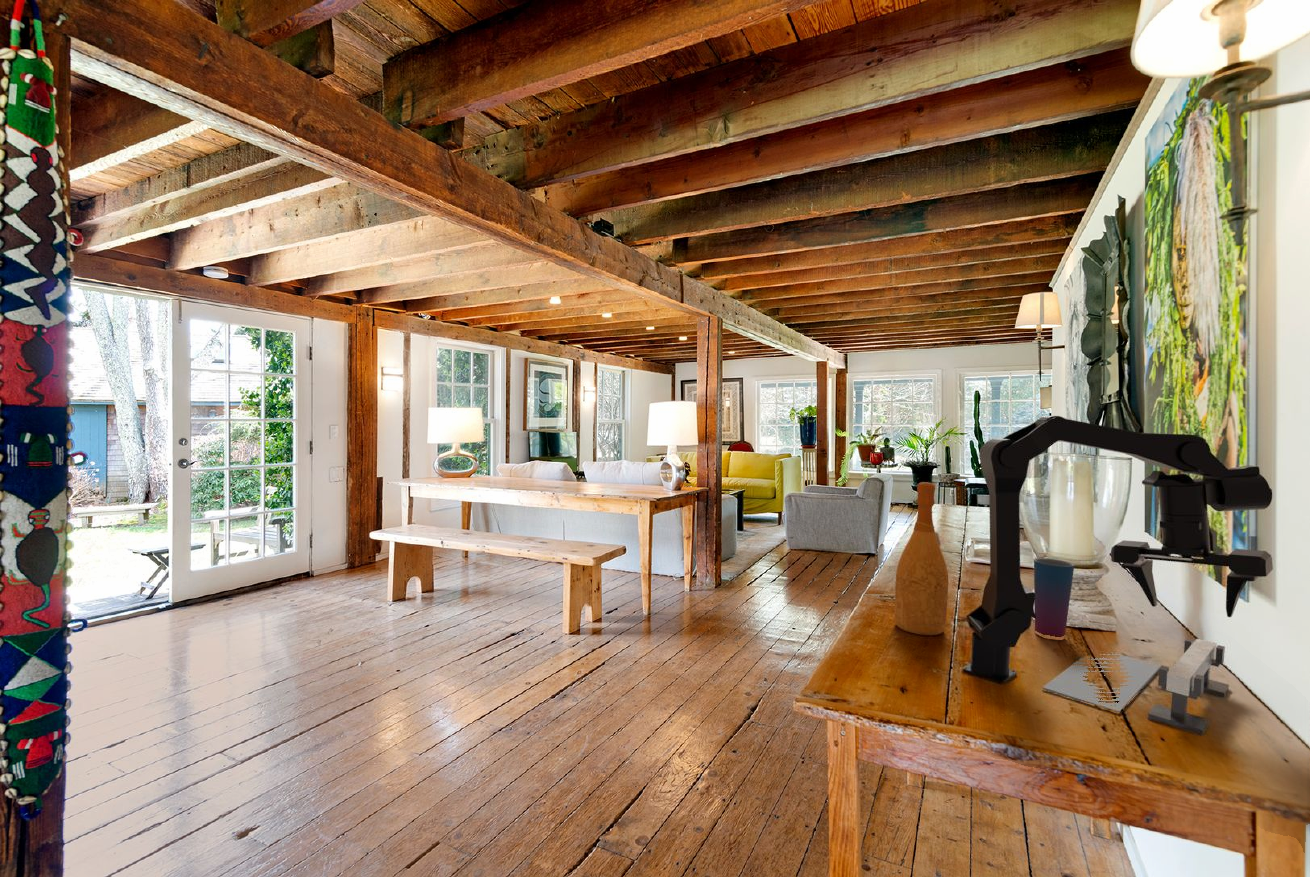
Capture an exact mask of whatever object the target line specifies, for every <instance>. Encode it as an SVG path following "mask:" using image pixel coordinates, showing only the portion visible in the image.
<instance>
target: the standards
mask: <svg viewBox="0 0 1310 877" xmlns="http://www.w3.org/2000/svg"><path fill="white" fill-rule="evenodd" d="M1193 643H1194V639H1192V638H1188V637H1187V638H1186V639H1184V646H1183V649H1184V650H1183V654H1184V653H1185V652H1186V651H1187V650H1188V648H1189V647H1190V646H1191V645H1192V644H1193ZM1225 649H1226V647H1225V646H1224V645H1218V644H1217V648H1216V659H1215V660H1214V661H1213V663H1212V664H1211V666H1213V667H1217V668H1219V667H1220V666H1221V665H1223V664H1224V663H1225ZM1211 666H1210V667H1209V669H1208V670H1207V671H1206V673H1205V674H1204V676H1201V675H1196V676H1195V677H1194V688H1193V691H1192V693H1191V694H1190V696H1185V695H1182V694H1178V693H1175V692H1171V691H1168V690H1166V685H1167V673H1168V672H1169V670H1170V667H1169V666H1165V665H1162V666H1161V667H1160V668H1159V671H1158V680H1157V686H1158V687H1161V691H1163V692H1164V691H1165V692H1168V693H1171V705H1170V707H1169V706H1165V705H1162V704H1158V703H1155V704H1154V706H1153V707H1152V708H1151V710H1150V711H1149V712H1147V719H1148V720H1151V721H1154V722H1157V723H1160V724H1164V725H1167V726H1170V727H1172V728H1176V729H1180V730H1183V731H1186V732H1189V733H1191V734H1196V735H1198V736H1204V734H1205V732H1206V730H1207V728H1208V727H1209V725H1210V719H1209V718H1206V717H1202V716H1199V715H1195V714H1193V713H1192V714H1191V713H1189V712H1187V708H1188V699H1192V700H1198V699H1199V698H1201V697H1202V696H1203V695H1204V694H1209V695H1211V696H1212V695H1213V696H1216V697H1218V698H1223V699H1225V697H1226V695H1227V693H1228V691H1229V690H1230V689H1229V688H1230V684H1229V683H1224V682H1220V681H1217V680H1213V679H1210V674H1211V673H1210V672H1211V671H1210V669H1211Z"/></svg>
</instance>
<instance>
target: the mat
mask: <svg viewBox="0 0 1310 877" xmlns="http://www.w3.org/2000/svg"><path fill="white" fill-rule="evenodd" d="M1113 653H1114V652H1112V655H1120V658H1117V657H1116V658H1117V659H1116V660H1124V661H1120V663H1118V664H1124V666H1123V665H1122V666H1120V668H1127V669H1124V670H1123V671H1122V670H1121V671H1120V672H1128V674H1126V673H1125V674H1124V676H1132V677H1128V679H1126V678H1125V679H1123V680H1132V681H1128V682H1125V683H1123V684H1120V685H1128V686H1122V687H1121V686H1120V688H1112V689H1120V691H1119V690H1117V691H1116V692H1115V691H1114V692H1107V693H1120V695H1119V694H1118V695H1116V696H1111V697H1119V698H1116V699H1112V700H1104V699H1103V700H1102V699H1101V700H1100V699H1098V698H1096V697H1106V696H1100V695H1097V694H1094V693H1106V692H1102V691H1101V692H1100V691H1097V690H1096V689H1104V688H1098V687H1096V686H1089V685H1098V684H1093V683H1089V682H1086V681H1083V680H1087V679H1088V678H1085V677H1083V676H1088V675H1087V674H1088V673H1087V674H1086V673H1084V672H1090V671H1088V669H1086V668H1093V667H1088V666H1083V665H1079V664H1086V663H1084V662H1080V661H1078V660H1086V659H1085V658H1084V659H1082V657H1080V658H1079V659H1078V660H1077V661H1074V663H1073V664H1074V665H1073V664H1071V665H1070V666H1069V667H1068V668H1066V669H1064V670H1063V671H1062V672H1061V673H1059V674H1058V675H1057V676H1055V678H1054V677H1053V679H1052V680H1050V681H1049V682H1048V683H1046V684H1045V685H1043V687H1042V690H1043V689H1044V690H1046V691H1050V692H1052V693H1057V694H1059V695H1062V696H1065V697H1070V698H1072V699H1074V700H1078V701H1083V702H1087V703H1091V704H1094V705H1100V706H1102V707H1104V708H1107V709H1112V710H1115V711H1117V712H1120V711H1121V710H1122V709H1123V708H1124V707H1125V705H1127V703H1128V702H1129V701H1130V700H1131V699H1132V698H1133V697H1134V696H1135V695H1136V694H1137V693H1138V694H1139V693H1141V691H1142V690H1143V689H1144V688H1145V687H1146V686H1147V685H1148V683H1149V682H1151V680H1152V679H1153V678H1154V677H1155V676H1156V675H1157V674H1158V673H1159V668H1160V667H1161V666H1162V665H1161V664H1158V663H1154V662H1149V661H1146V660H1143V659H1139V658H1134V657H1131V656H1126V655H1124V654H1119V653H1115V654H1113ZM1100 655H1102V654H1100ZM1103 655H1106V654H1103ZM1107 655H1110V654H1107ZM1121 655H1122V656H1121ZM1111 659H1112V658H1110V659H1107V658H1104V657H1103V658H1099V659H1098V658H1095V659H1093V658H1092V659H1091V660H1111ZM1087 660H1090V659H1088V658H1087ZM1112 660H1115V659H1112ZM1075 664H1078V666H1077V665H1075ZM1087 664H1089V663H1087ZM1091 664H1094V663H1091ZM1095 664H1109V663H1107V662H1106V661H1104V662H1103V663H1102V662H1099V663H1097V662H1095ZM1110 664H1111V663H1110ZM1112 664H1113V663H1112ZM1116 664H1117V663H1116ZM1094 668H1112V667H1107V666H1101V665H1100V667H1098V666H1095V667H1094ZM1091 672H1097V671H1096V670H1095V671H1091ZM1099 672H1111V671H1104V670H1101V671H1099ZM1112 672H1113V671H1112ZM1116 672H1117V671H1116ZM1104 676H1105V675H1104ZM1120 676H1121V675H1120ZM1122 676H1123V675H1122ZM1099 685H1100V684H1099ZM1144 686H1145V687H1144ZM1094 689H1095V690H1094ZM1141 689H1142V690H1141ZM1140 690H1141V691H1140ZM1046 691H1045V692H1046ZM1052 693H1051V694H1052ZM1059 695H1058V696H1059ZM1062 696H1061V697H1062ZM1065 697H1064V698H1065ZM1094 697H1095V698H1094ZM1107 697H1108V696H1107ZM1109 697H1110V696H1109ZM1074 700H1073V701H1074ZM1098 701H1120V702H1118V703H1117V702H1116V703H1105V702H1104V703H1103V702H1098ZM1111 705H1112V706H1111ZM1115 705H1116V706H1115Z"/></svg>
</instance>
